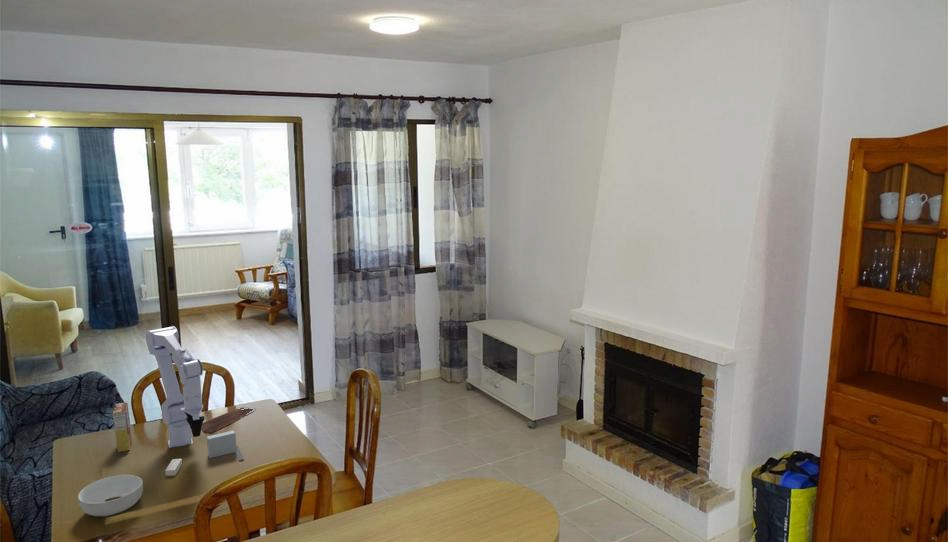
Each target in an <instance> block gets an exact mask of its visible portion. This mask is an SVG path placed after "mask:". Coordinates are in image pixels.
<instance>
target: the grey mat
mask: <svg viewBox="0 0 948 542" xmlns="http://www.w3.org/2000/svg"><path fill="white" fill-rule="evenodd" d="M236 451H237V454H235V456H236V458H237V460H238V461H239V462H242V461H245V459H244V457H243V455H242V452H241V449H240V448H239V445H236Z"/></svg>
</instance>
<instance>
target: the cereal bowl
mask: <svg viewBox="0 0 948 542" xmlns="http://www.w3.org/2000/svg"><path fill="white" fill-rule="evenodd" d="M143 491H144V483H143V479H142V477H139V476H137V475H135V474H134V475H133V474H117V475H113V476H107V477H105V478H101V479H99V480H95V481H93V482H91V483H90V484H88V485H86V486H85V487H83V488H82V489H81V490H80V492H79V493H78V495H77V500H78V504H79V507H80V509H81V510H82V511H83V512H84V513H85V514H87V515H89V516H94V517H108V516H109V517H110V516H112V517H113V516H115V515H117V514H119V513H123V512H124V511H126V510H128V509H129V508H131V507H133V506H134V505H135V504H136V503H137V502H138V501H139V500H140V499H141V496H142V495H143ZM118 497H119V498H118ZM113 498H115V499H113ZM109 499H111V500H109ZM107 500H108V501H107Z"/></svg>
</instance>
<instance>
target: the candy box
mask: <svg viewBox="0 0 948 542" xmlns="http://www.w3.org/2000/svg"><path fill="white" fill-rule="evenodd" d="M129 412H130V411H129V405H128V402H121V403H116V404H115V406H114V409H113V412H112V418H113V424H114V432H115V439H116V448H117V453H121V452H120V451H123V452H129V451H131V447H132V443H133V436H132V428H131V421H130V420H131V419H130V413H129ZM128 450H129V451H128Z"/></svg>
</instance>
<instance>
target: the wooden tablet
mask: <svg viewBox="0 0 948 542" xmlns="http://www.w3.org/2000/svg"><path fill="white" fill-rule="evenodd" d="M239 408H240V409H238V408H235V409H233V410H231V411H227V412H226V413H223V414H220V415H218V416H215V417H214V418H211V419H209V420H206V421H205V422H204V421H203V423H202V427H201V430H202V431H201V433H204V434H207V433H210V434H213V433H215V432H217V431H220V430H221V429H223V428H225V427H227V425H228V426H229V424H230V425H231V424H234V423H236V422H237V421H239V420H241V419H242V418H241V417H243V416H244V415H246V414H247V413H249V412H250V411H252V410H253V409H249V408H250V407H247V408H248V409H244V408H245V407H239ZM241 409H244V410H241ZM246 416H247V415H246ZM240 418H241V419H240ZM243 418H244V417H243ZM238 419H239V420H238ZM236 420H237V421H236ZM216 430H217V431H216ZM214 431H215V432H214ZM212 432H213V433H212Z"/></svg>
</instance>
